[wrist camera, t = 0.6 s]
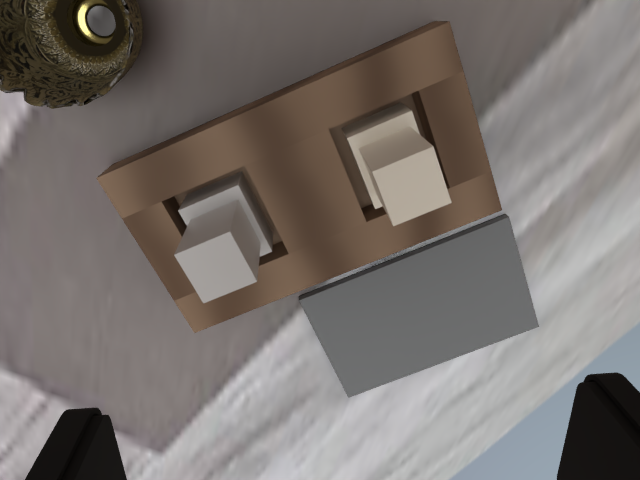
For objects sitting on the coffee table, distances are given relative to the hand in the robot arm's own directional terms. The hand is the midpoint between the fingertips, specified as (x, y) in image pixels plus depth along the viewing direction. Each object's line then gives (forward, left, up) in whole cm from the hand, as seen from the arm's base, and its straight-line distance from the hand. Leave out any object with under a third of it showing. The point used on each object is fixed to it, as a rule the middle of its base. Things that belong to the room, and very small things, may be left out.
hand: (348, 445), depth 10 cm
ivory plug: (-5, +2, -24) cm, 25 cm away
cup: (+8, -12, -25) cm, 29 cm away
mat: (-3, +15, -25) cm, 29 cm away
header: (+1, +2, -25) cm, 25 cm away
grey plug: (+6, +2, -24) cm, 25 cm away
